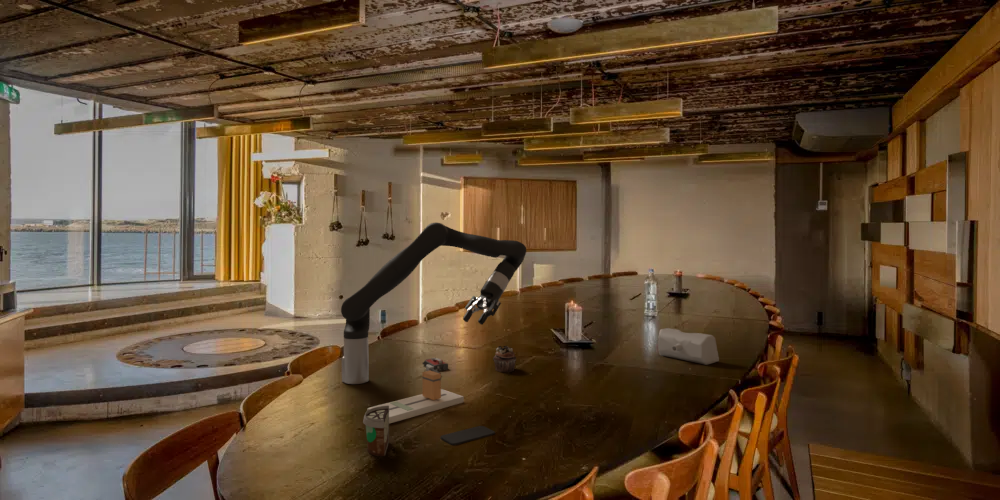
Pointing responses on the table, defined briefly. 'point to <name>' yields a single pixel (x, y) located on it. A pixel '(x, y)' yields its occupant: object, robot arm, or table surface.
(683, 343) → the grey faceted block
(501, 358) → the cupcake
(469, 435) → the phone
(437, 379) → the fader tab
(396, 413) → the white slider board
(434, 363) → the walkie-talkie
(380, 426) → the food container
